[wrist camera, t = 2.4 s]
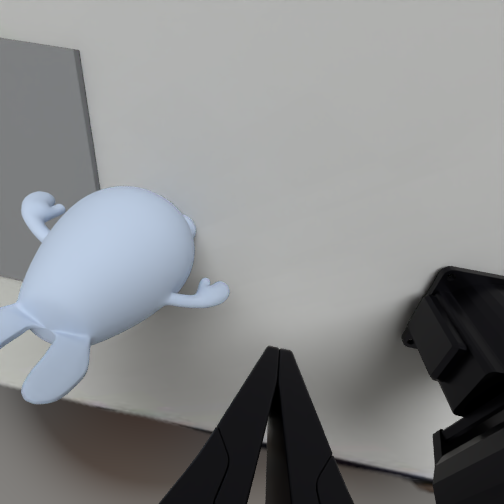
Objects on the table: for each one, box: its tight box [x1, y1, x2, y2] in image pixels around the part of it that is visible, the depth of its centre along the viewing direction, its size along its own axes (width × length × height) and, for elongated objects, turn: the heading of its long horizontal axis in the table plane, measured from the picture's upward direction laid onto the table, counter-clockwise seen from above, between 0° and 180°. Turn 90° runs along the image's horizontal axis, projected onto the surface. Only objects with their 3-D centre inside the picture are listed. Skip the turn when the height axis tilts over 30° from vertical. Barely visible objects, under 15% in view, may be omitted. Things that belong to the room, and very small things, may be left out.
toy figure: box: [0, 186, 230, 404], centre depth 13 cm, size 11×6×12 cm, turn 63°
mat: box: [0, 38, 100, 281], centre depth 18 cm, size 12×16×1 cm
